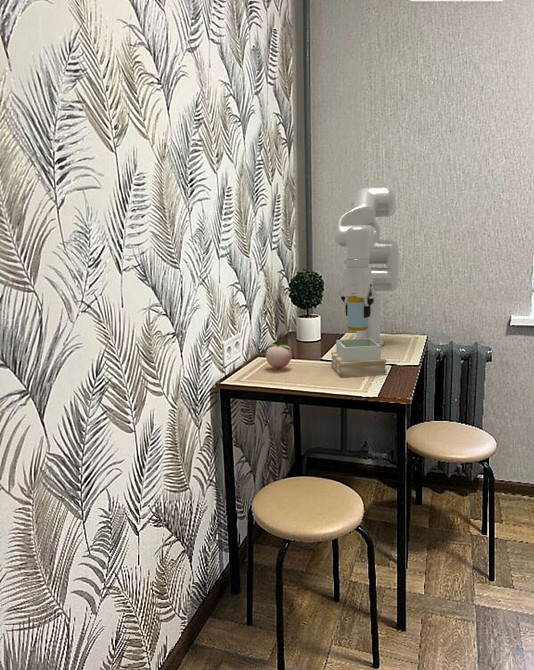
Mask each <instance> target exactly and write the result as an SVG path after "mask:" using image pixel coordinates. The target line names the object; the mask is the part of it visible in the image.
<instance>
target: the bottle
mask: <svg viewBox="0 0 534 670" xmlns="http://www.w3.org/2000/svg"><path fill="white" fill-rule="evenodd" d="M357 290H358V289H357V287H351V286H350V293H351V294H350V295H351V296H350V297H348V299H347V316H346V318H347V323H346V325H347V329H348V330H349V331H354V332H357V331H363V330H366V329H367V328H368V317H367V318H364V306H365V304H364V298H358V297H357V294H356V293H357ZM367 300H368V299H367Z"/></svg>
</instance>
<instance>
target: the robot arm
mask: <svg viewBox="0 0 534 670" xmlns="http://www.w3.org/2000/svg"><path fill="white" fill-rule="evenodd" d="M350 205H351V206H350V208H351V209H350V210H349V211H347V212H346V213H344V214H342V215H341V216H340V218H338V221H337V224H336V227H335V228H336V229H335V234H334V239H335V243H336V245H337V247H340V248H346V259H344V260H343V264H344V265H346V267H344V268H343V273H342V280H341V288H340V289H339V291H338V292H337V295H338V297H339V298H341V301H343V304H344V306H345V316H346V317H347V299H348V297H350V296H351V295H350V294H351V293H350V286H351V287H357V289H358V290H357V293H356V294H357V297H358V298H364V304H365V306H364V318H367V317H368V328H367V329H366V330H363V331H356V339H367V338H371V339H373V340H374V341H375V342H376V343H378V344H379V345H380V346H381V347H382V346H383V345H384V340H382V339H381V303H380V302H381V301H380V298H379V297H380V295H379V293H378V292H393V291H394V292H395V291H396V290H397V289H398V287H399V272H400V271H399V268H400V267H399V266H400V265H399V263H400V262H399V260H400V259H399V257H400V256H399V246H398V243H397V242H396V241H395V240H392V239H387V240H385V239H384V240H382V239H381V238H380V237H381V235H380V233H381V228H380V226H379V224H378V223H377V222H376V221H375V218H382V217H383V218H384V217H385V218H390V217H393V216H394V215H395V213H396V210H397V201H396V197H395V193H394V191H393V190H392V188H391V187H389V186H379V187H378V186H371V187H370V186H369V187H362V188H360V189H359V190H357V191H356V193H355V196H354V197H353V199H351V202H350ZM370 265H385V266H386V267H370ZM367 299H368V300H367Z"/></svg>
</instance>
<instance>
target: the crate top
mask: <svg viewBox="0 0 534 670" xmlns="http://www.w3.org/2000/svg"><path fill="white" fill-rule="evenodd" d="M335 345H336V346H335V347H336V348H335V349H336V350H335V352H336V353H337V355H338V356H339V357H340V358H341V359H342V360H343V361H344V362H349V361H367V360H381V357H382V354H381V353H382V349H381V348H382V346H380V345H379V344H378V343H376V342H375V341H374V340H373V339H371V338H367V339H357V338H355V339H354V338H351V339H336V340H335Z"/></svg>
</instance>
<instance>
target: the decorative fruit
mask: <svg viewBox="0 0 534 670" xmlns="http://www.w3.org/2000/svg"><path fill="white" fill-rule="evenodd" d="M265 348H267V350H266V352H265V358H266V362H267V363H268V365H270V366H271V367H273V368H275V369H277V370H280V369H283V368H284V367H286V366H288V365H289V363H290V362H291V360H292V351H291V350H292V348H291V347H290V346H289V345H286V344H279V341H278V342H277V344H275V343H270V344H268V345H267V346H266V347H265Z"/></svg>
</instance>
